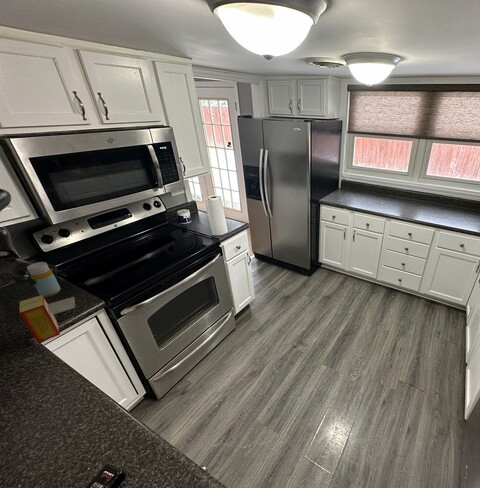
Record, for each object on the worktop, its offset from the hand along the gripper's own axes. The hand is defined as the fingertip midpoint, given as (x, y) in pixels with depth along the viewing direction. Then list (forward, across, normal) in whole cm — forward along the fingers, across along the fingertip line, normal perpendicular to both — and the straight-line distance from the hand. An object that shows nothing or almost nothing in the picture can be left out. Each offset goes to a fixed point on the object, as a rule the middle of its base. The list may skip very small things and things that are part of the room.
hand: (45, 277), depth 118 cm
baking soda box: (+15, -11, +17) cm, 25 cm away
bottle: (-2, 0, +9) cm, 9 cm away
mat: (-1, 0, +17) cm, 17 cm away
